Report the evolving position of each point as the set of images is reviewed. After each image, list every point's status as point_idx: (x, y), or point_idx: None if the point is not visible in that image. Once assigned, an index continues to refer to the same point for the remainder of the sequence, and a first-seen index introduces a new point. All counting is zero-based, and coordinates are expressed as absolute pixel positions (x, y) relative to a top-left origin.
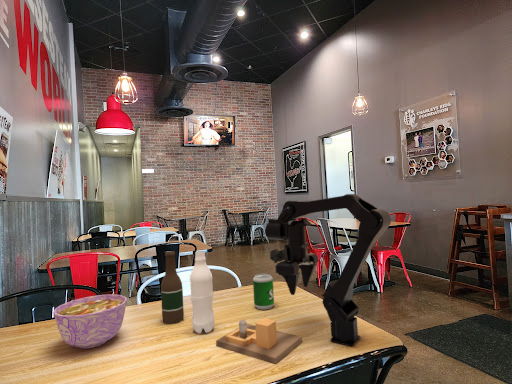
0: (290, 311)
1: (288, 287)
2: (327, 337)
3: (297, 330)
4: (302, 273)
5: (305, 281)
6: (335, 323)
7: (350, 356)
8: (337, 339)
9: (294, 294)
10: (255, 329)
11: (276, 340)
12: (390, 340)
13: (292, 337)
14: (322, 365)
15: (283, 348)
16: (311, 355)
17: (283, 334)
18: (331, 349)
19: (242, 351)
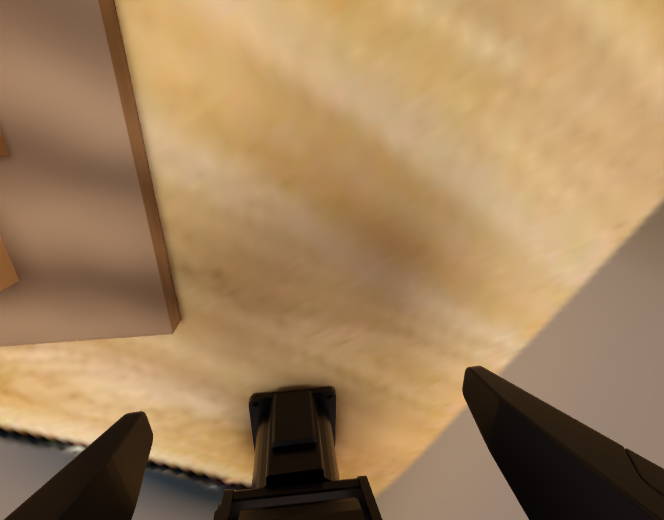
0: (505, 63)
1: (25, 505)
2: (279, 371)
3: (273, 244)
4: (628, 514)
5: (500, 435)
6: (259, 471)
7: (194, 470)
8: (260, 420)
9: (149, 441)
10: (48, 49)
11: (3, 288)
12: None
13: (131, 307)
14: (78, 445)
15: (4, 333)
16: (108, 394)
17: (127, 254)
18: (199, 418)
19: None
